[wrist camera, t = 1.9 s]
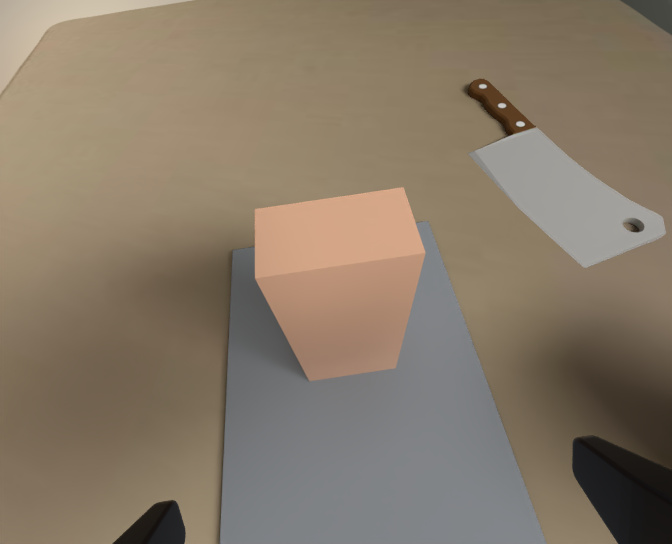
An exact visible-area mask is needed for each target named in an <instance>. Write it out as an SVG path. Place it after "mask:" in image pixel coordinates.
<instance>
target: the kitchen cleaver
mask: <svg viewBox="0 0 672 544" xmlns="http://www.w3.org/2000/svg"><path fill="white" fill-rule="evenodd" d="M468 94H469V95H470V96H471V97H472V98H474V99H476V100H479V101H480V102H481V103H482V104H483V105H484V106H485V109H486V110H487V111H488V112H489V113H490V114H491V115H492V116H493V117H494V118H495V119H496V120H498V121H499V122H501V123H502V124H503V125H504V126H505V130H506V133H507V134H508V135H509V136H508V137H506V138H504V139H501V140H499V141H497V142H494V143H492V144H490V145H487V146H485V147H483V148H481V149H478V150H476V151H473V152H471V153H468V154H469V156H470V157H471V158H472V159H473V160H474V161H475V162H476V163H477V164H478V165H479V166H480V167H481V168H482V169H483V171H484V172H485V173H486V174H487V175H488V176H489V177H490V178H491V179H492V180H493V181H494V182H495V183H496V184H497V186H498V187H499V188H500V189H501V190H502V191H503V192H504V193H505V194H506V195H507V196H508V197H509V198H510V199H511V200H512V201H513V202H514V204H515V205H516V206H517V207H518V208H519V209H520V210H521V211H522V212H523V213H525V214H526V215H527V216H528V217H529V218H530V219H531V220H532V221H533V222H534V223H535V224H536V225H538V226H539V227H540V228H541V229H542V230H543V231H544V232H545V233H546V234H547V235H548V236H550V237H551V238H552V239H553V240H554V241H555V242H556V243H557V244H558V245H559V246H561V247H562V248H563V249H564V250H565V251H566V252H567V253H568V254H569V255H570V256H571V257H573V258H574V259H575V260H576V261H577V262H578V263H579V264H580V265H582V266H583V267H584V268H587V267H589V266H592V265H594V264H597V263H599V262H602V261H604V260H607V259H609V258H612V257H614V256H617V255H619V254H622V253H624V252H627V251H629V250H632V249H634V248H637V247H640V246H642V245H645V244H647V243H650V242H652V241H655V240H657V239H660V238H661V237H662V236H663V235H664V234H665V233H666V231H665V226H664V221H663V217H662V216H660V215H658V214H656V213H654V212H652V211H650V210H648V209H646V208H644V207H642V206H640V205H638V204H636V203H634V202H632V201H630V200H629V199H627V198H626V197H624V196H623V195H621V194H620V193H618V192H616V191H615V190H613V189H612V188H610V187H609V186H607V185H606V184H604V183H603V182H601V181H600V180H598V179H597V178H595V177H594V176H593V175H591V174H590V173H589V172H588V171H586V170H585V169H584V168H582V167H581V166H580V165H579V164H577V163H576V162H575V161H574V160H572V159H571V158H570V157H569V156H567V155H566V154H565V153H564V152H563V151H562V150H561V149H560V148H559V147H558V146H556V145H555V144H554V143H553V142H552V141H551V140H550V139H549V138H548V137H547V136H545V135H544V134H543V133H542V132H541V131H540V130H539V129H538V128H536V126H534V125H533V124H532V123H531V122H530V121H529V120H528V119H527V118H526V117H525V116H524V115H523V114H521V113H520V112H519V111H518V110H517V109H516V108H515V107H514V106H513V105H512V104H511V103H510V102H509V101H508V100H507V99H506V98H505V97H504V96H503V95H502V94H501V93H500V92H499V91H498V90H497V89H496V88H495V87H494V86H493V85H492V84H491V83H490V82H488V81H487V80H485V79H478V80H474V81H473V82H472V83H471V84H470V87H469V91H468ZM624 222H628V223H632V224H634V225H635V226H637V227H638V229H639V231H640V232H630V231H628V230H627V229H625V228H624V226H623V224H622V223H624Z"/></svg>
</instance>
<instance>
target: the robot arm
mask: <svg viewBox="0 0 672 544" xmlns="http://www.w3.org/2000/svg"><path fill="white" fill-rule="evenodd" d="M572 468H573V473H574V476H575V478H576V480H577V481H578V483H579V485H580V486H581V488H582V489H583V491H584V492H585V494H586V495H587V497H588V498H589V500H590V501H591V503H592V504H593V506H594V508H595V509H596V511H597V512H598V514H599V515H600V517H601V518H602V520H603V521H604V523H605V524H606V526H607V527H608V529H609V530H610V532H611V534H612V535H613V537H614V538H615V540H616V541H617V543H618V544H672V470H671V469H668V468H666V467H664V466H662V465H659V464H657V463H655V462H653V461H650V460H648V459H646V458H644V457H641V456H639V455H637V454H635V453H632V452H630V451H628V450H626V449H623V448H621V447H619V446H617V445H615V444H612V443H610V442H608V441H606V440H603V439H601V438H599V437H596V436H591V435H590V436H583V437H577V438H575V439H574V441H573V458H572ZM184 543H185V526H184V523H183V520H182V516H181V513H180V510H179V506H178V504H177V502H176V501H174V500H170V501H164V502H158V503H156V504H154V505H153V506H152V507H151V508H150V509H149V510H148V511H147V512H146V513H144V514H143V515H142V516H141V517H140V518H139V519H138V520H137V521H136V522H135V523H134V524H133V525H132V526H131V527H130V528H129V529H128V530H126V531H125V532H124V533H123V534H122V535H121V536H120V537H119V538H118V539H117V540H116V541H115V542H114V543H113V544H184Z"/></svg>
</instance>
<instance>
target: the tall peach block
mask: <svg viewBox="0 0 672 544" xmlns="http://www.w3.org/2000/svg"><path fill="white" fill-rule="evenodd" d="M424 257H425V250H424V247H423V244H422V241H421V238H420V235H419V232H418V229H417V226H416V223H415V220H414V217H413V214H412V211H411V208H410V205H409V202H408V199H407V197H406V194H405V191H404V188H403V187H402V188H396V189H389V190H382V191H375V192H369V193H362V194H355V195H348V196H341V197H335V198H328V199H321V200H314V201H307V202H301V203H294V204H287V205H280V206H274V207H267V208H260V209H255V279H256V281H257V283H258V285H259V287H260V289H261V291H262V293H263V295H264V296H265V298H266V300H267V302H268V304H269V306H270V308H271V310H272V312H273V313H274V315H275V317H276V319H277V321H278V323H279V325H280V327H281V329H282V331H283V332H284V334H285V336H286V338H287V340H288V342H289V344H290V346H291V348H292V349H293V351H294V353H295V355H296V357H297V359H298V361H299V363H300V365H301V366H302V368H303V370H304V372H305V374H306V376H307V378H308V380H309V381H315V380H321V379H328V378H334V377H341V376H348V375H354V374H361V373H367V372H374V371H380V370H387V369H394V368H396V365H397V361H398V357H399V353H400V350H401V346H402V342H403V338H404V334H405V330H406V327H407V323H408V319H409V315H410V311H411V307H412V303H413V300H414V296H415V292H416V288H417V284H418V280H419V276H420V273H421V269H422V265H423V261H424Z"/></svg>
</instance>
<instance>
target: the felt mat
mask: <svg viewBox="0 0 672 544" xmlns="http://www.w3.org/2000/svg"><path fill="white" fill-rule="evenodd" d="M416 226H417V229H418V232H419V235H420V238H421V241H422V244H423V247H424V250H425V257H424V261H423V265H422V269H421V273H420V276H419V280H418V284H417V288H416V292H415V296H414V300H413V303H412V307H411V311H410V315H409V319H408V323H407V327H406V330H405V334H404V338H403V342H402V346H401V350H400V353H399V357H398V361H397V365H396V368H394V369H387V370H380V371H374V372H367V373H361V374H354V375H348V376H341V377H334V378H328V379H321V380H315V381H309V380H308V378H307V376H306V374H305V372H304V370H303V368H302V366H301V365H300V363H299V361H298V359H297V357H296V355H295V353H294V351H293V349H292V348H291V346H290V344H289V342H288V340H287V338H286V336H285V334H284V332H283V331H282V329H281V327H280V325H279V323H278V321H277V319H276V317H275V315H274V313H273V312H272V310H271V308H270V306H269V304H268V302H267V300H266V298H265V296H264V295H263V293H262V291H261V289H260V287H259V285H258V283H257V281H256V279H255V247H249V248H243V249H236V250H233V256H232V278H231V301H230V324H229V346H228V369H227V392H226V414H225V437H224V460H223V482H222V505H221V528H220V544H546V541H545V538H544V535H543V533H542V530H541V527H540V525H539V522H538V519H537V516H536V514H535V511H534V508H533V505H532V503H531V500H530V497H529V495H528V492H527V489H526V486H525V484H524V481H523V478H522V476H521V473H520V470H519V467H518V465H517V462H516V459H515V456H514V454H513V451H512V448H511V446H510V443H509V440H508V437H507V435H506V432H505V429H504V427H503V424H502V421H501V418H500V416H499V413H498V410H497V407H496V405H495V402H494V399H493V397H492V394H491V391H490V388H489V386H488V383H487V380H486V378H485V375H484V372H483V369H482V367H481V364H480V361H479V358H478V356H477V353H476V350H475V348H474V345H473V342H472V339H471V337H470V334H469V331H468V328H467V326H466V323H465V320H464V318H463V315H462V312H461V309H460V307H459V304H458V301H457V299H456V296H455V293H454V290H453V288H452V285H451V282H450V279H449V277H448V274H447V271H446V269H445V266H444V263H443V260H442V258H441V255H440V252H439V250H438V247H437V244H436V241H435V239H434V236H433V233H432V230H431V228H430V225H429V222H428V221H425V222H418V223H416Z"/></svg>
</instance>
